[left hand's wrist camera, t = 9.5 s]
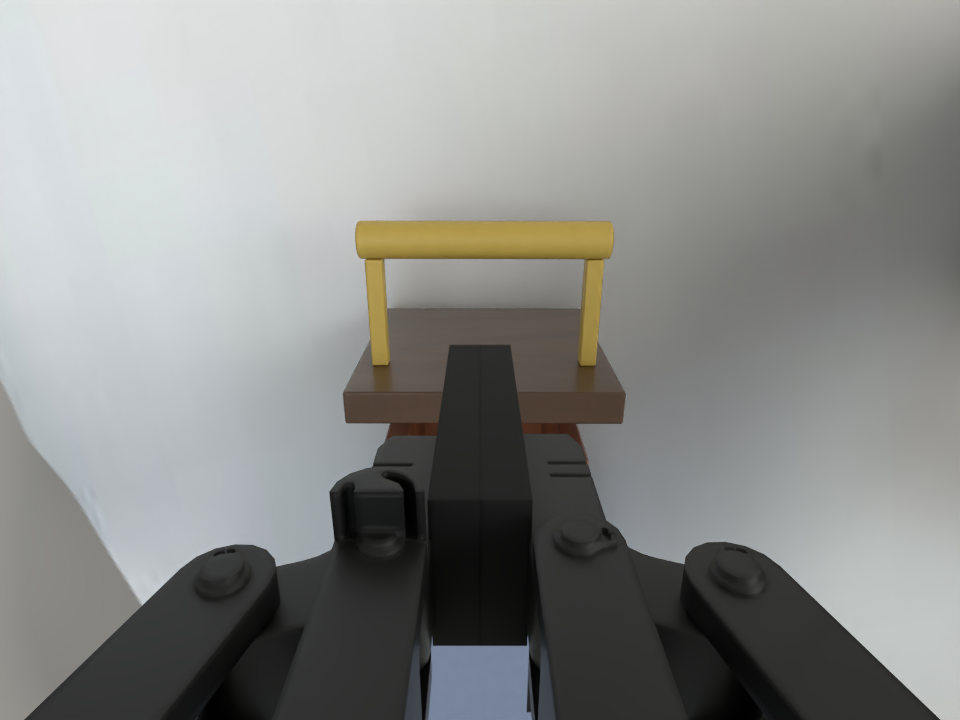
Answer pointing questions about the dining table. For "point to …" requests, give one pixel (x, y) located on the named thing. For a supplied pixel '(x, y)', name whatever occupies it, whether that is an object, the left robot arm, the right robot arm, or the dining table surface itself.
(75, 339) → the dining table surface
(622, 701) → the left robot arm
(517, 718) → the cabinet
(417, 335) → the drawer
